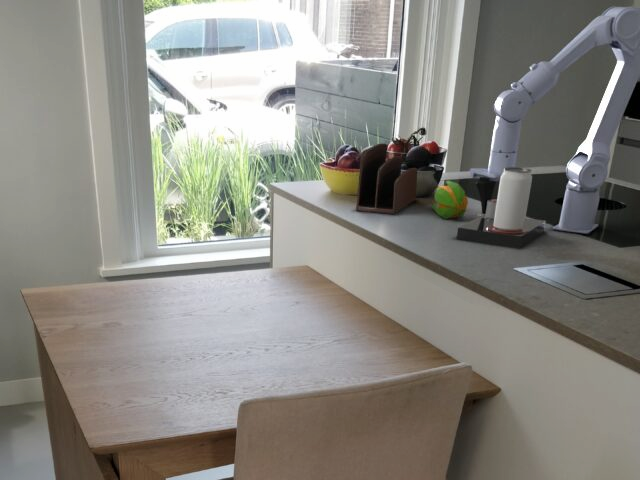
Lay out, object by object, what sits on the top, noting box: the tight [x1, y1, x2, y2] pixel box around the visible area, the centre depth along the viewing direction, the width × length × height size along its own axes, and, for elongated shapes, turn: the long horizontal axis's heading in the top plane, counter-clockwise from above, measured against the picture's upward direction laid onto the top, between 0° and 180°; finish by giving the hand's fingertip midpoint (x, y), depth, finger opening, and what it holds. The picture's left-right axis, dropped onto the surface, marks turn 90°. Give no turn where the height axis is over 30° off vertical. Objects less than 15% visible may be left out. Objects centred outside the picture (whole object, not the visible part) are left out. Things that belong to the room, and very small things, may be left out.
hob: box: [456, 213, 547, 249], centre depth 186 cm, size 19×15×3 cm
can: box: [493, 166, 533, 231], centre depth 177 cm, size 6×6×12 cm
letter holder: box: [355, 143, 418, 215], centre depth 208 cm, size 10×20×14 cm, turn 155°
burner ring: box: [487, 224, 529, 234], centre depth 181 cm, size 9×9×1 cm
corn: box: [430, 180, 469, 220], centre depth 203 cm, size 7×8×20 cm
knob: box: [485, 198, 497, 219], centre depth 189 cm, size 4×4×4 cm
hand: (494, 214), depth 190 cm, fingers closed on knob, 4 cm apart
